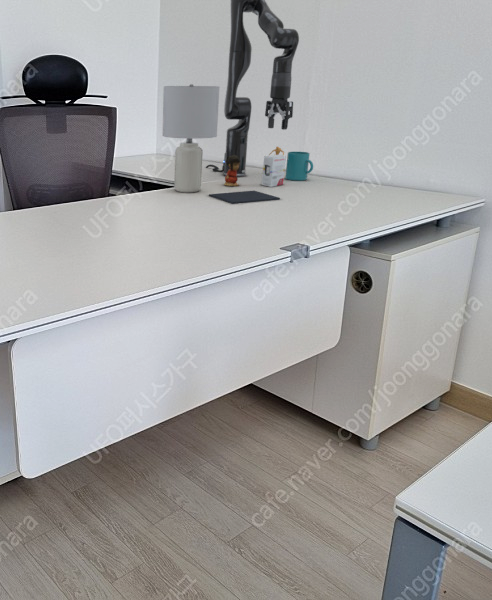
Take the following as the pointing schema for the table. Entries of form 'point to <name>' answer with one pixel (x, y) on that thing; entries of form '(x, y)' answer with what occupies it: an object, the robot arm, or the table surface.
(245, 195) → the mat
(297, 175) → the cup
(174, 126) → the lamp
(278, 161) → the ink box
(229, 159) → the figurine
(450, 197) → the table surface
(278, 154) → the figurine
